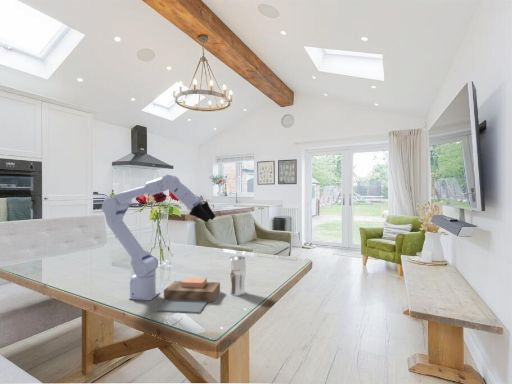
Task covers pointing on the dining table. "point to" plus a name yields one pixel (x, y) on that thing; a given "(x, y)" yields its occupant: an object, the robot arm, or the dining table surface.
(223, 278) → the dining table surface
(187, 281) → the tile
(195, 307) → the mat
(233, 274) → the beer glass
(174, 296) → the brown wooden block
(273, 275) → the dining table surface
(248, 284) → the dining table surface
